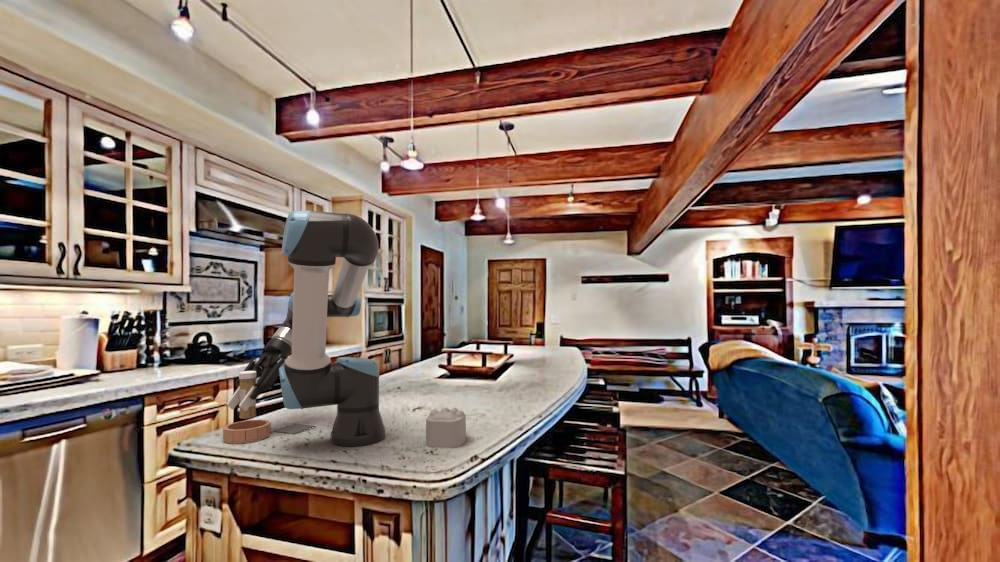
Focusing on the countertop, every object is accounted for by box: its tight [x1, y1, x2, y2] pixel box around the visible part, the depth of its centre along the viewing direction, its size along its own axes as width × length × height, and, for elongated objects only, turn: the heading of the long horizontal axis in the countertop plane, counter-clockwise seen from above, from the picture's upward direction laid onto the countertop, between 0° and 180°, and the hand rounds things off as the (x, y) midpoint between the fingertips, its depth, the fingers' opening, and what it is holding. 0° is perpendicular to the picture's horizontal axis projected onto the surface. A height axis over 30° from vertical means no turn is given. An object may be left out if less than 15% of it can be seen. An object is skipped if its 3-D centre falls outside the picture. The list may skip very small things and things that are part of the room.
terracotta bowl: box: [222, 419, 272, 445], centre depth 139 cm, size 12×12×4 cm
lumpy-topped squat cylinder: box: [425, 407, 467, 449], centre depth 134 cm, size 10×13×9 cm
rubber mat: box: [271, 423, 316, 435], centre depth 148 cm, size 9×9×1 cm
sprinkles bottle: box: [238, 370, 257, 420], centre depth 140 cm, size 5×5×13 cm
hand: (236, 407), depth 137 cm, fingers closed on sprinkles bottle, 4 cm apart
